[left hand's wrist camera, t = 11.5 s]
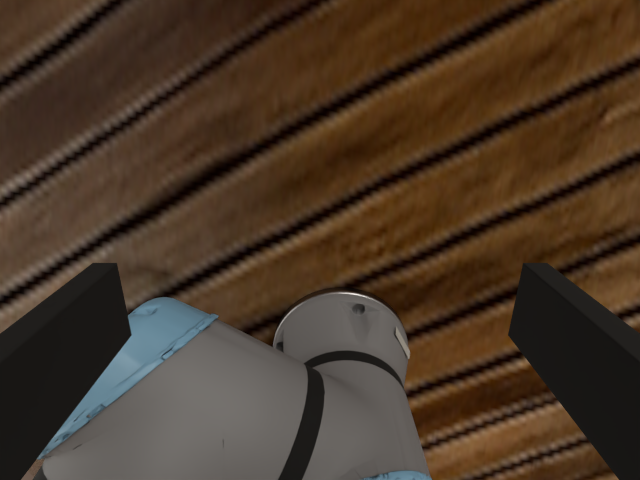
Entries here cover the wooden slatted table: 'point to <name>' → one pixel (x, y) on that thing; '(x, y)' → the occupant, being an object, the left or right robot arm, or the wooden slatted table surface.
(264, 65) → the wooden slatted table surface
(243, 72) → the wooden slatted table surface
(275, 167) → the wooden slatted table surface
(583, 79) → the wooden slatted table surface
